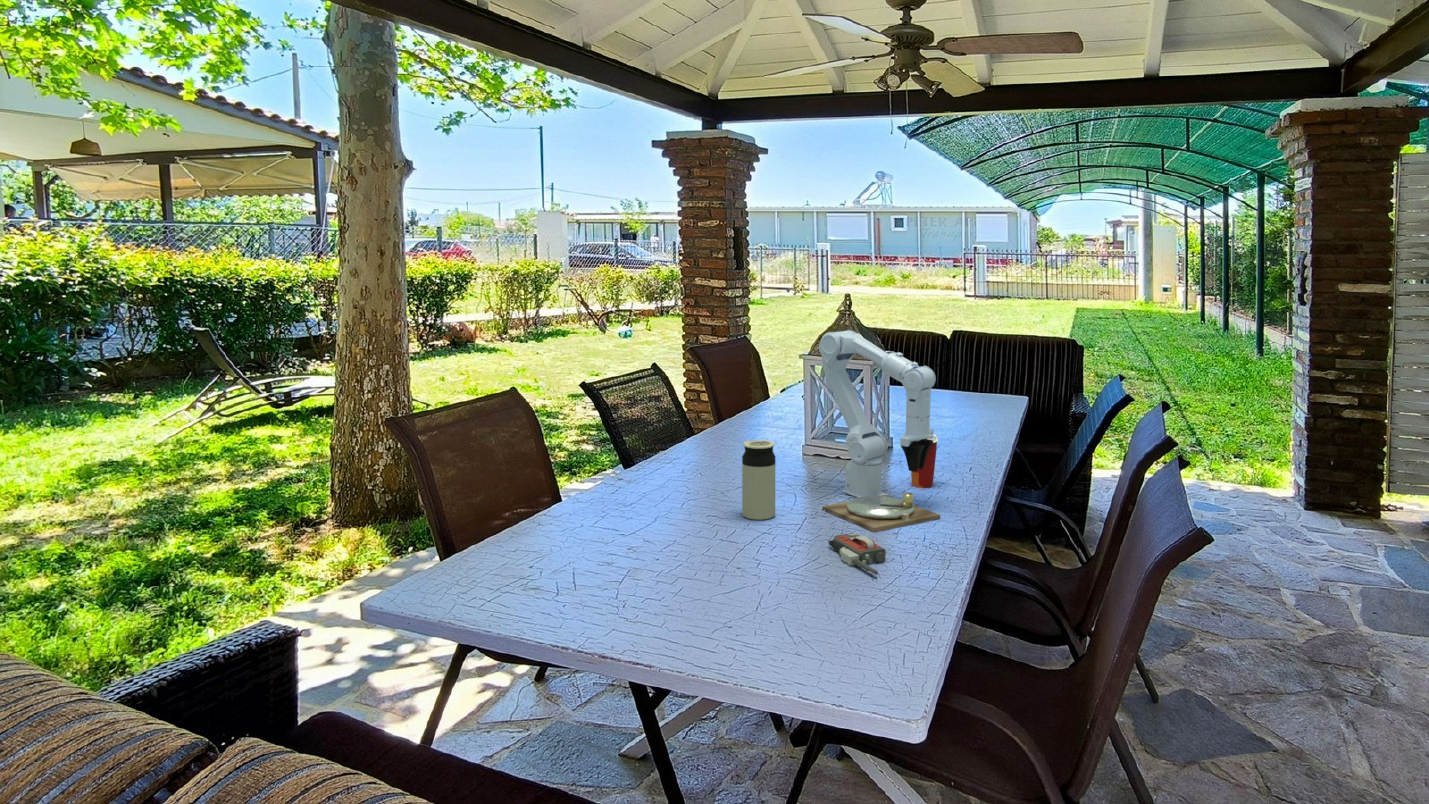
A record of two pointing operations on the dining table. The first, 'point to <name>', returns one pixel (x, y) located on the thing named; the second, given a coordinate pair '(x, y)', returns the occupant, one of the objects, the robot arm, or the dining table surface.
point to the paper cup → (926, 468)
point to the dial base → (881, 524)
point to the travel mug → (758, 480)
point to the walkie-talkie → (858, 550)
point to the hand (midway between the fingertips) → (916, 469)
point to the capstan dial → (881, 506)
